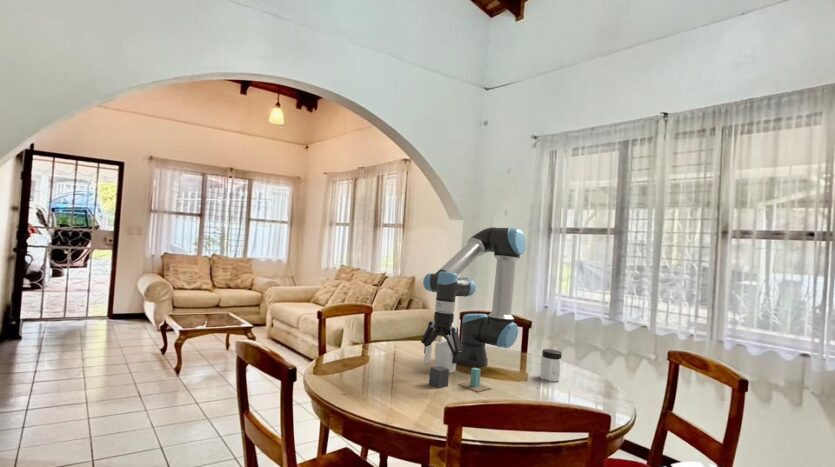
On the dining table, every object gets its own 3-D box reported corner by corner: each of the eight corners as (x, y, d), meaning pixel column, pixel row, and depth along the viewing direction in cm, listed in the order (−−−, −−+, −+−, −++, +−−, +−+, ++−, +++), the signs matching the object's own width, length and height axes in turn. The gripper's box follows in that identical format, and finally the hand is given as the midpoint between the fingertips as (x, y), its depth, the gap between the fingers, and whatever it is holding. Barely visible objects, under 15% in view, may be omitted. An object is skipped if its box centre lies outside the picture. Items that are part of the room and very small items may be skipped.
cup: (454, 375, 188) (456, 346, 188) (433, 373, 188) (435, 344, 188) (453, 369, 197) (455, 342, 197) (432, 367, 197) (435, 340, 197)
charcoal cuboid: (428, 384, 172) (430, 367, 172) (438, 382, 176) (439, 365, 176) (438, 388, 168) (439, 370, 169) (447, 386, 172) (449, 369, 172)
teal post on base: (458, 384, 175) (459, 366, 175) (471, 381, 180) (473, 364, 181) (477, 392, 168) (479, 373, 168) (491, 389, 173) (492, 370, 173)
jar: (544, 381, 191) (546, 352, 191) (536, 375, 199) (538, 348, 199) (563, 382, 192) (566, 354, 192) (555, 376, 200) (557, 349, 200)
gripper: (415, 306, 180) (410, 360, 179) (461, 317, 161) (456, 376, 160) (429, 306, 185) (424, 358, 184) (475, 317, 166) (470, 374, 165)
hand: (439, 367), depth 172 cm, fingers open, 13 cm apart
